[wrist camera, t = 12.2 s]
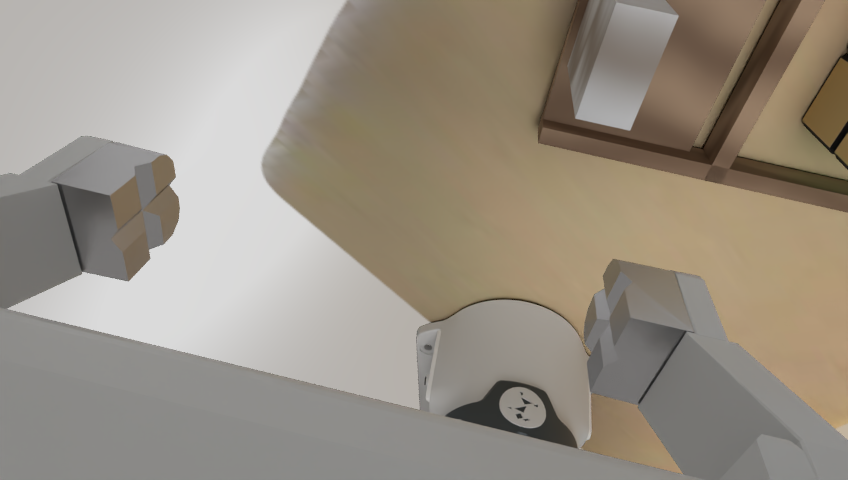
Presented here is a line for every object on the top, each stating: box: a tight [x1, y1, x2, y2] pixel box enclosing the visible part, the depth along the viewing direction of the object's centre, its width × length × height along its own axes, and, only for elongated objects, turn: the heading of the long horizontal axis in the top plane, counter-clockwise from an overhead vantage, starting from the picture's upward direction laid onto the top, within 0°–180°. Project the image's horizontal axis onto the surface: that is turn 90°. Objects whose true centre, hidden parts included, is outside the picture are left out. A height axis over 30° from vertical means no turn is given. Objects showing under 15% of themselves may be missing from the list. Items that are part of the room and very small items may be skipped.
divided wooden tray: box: [538, 0, 848, 212], centre depth 31 cm, size 16×28×10 cm, turn 80°
